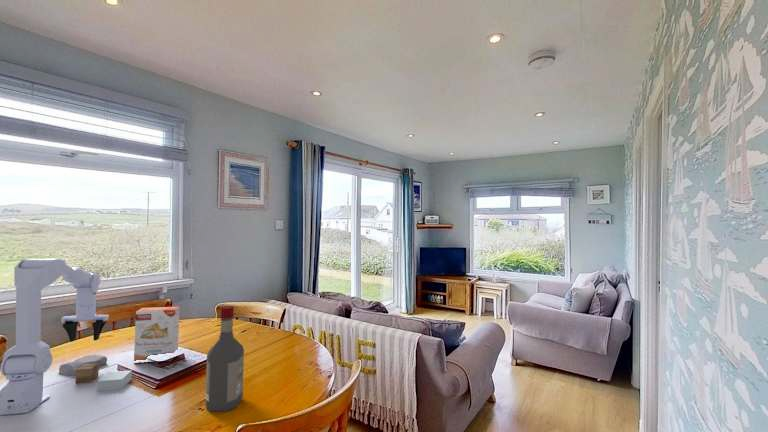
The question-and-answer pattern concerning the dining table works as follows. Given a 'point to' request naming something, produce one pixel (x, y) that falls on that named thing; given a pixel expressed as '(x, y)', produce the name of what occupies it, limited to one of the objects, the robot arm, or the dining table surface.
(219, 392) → the liquor
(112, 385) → the grey-blue block
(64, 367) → the stone block
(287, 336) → the dining table surface
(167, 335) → the cracker box
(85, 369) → the walnut block
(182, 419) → the dining table surface
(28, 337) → the robot arm
